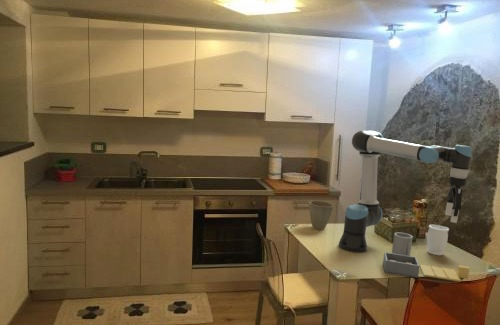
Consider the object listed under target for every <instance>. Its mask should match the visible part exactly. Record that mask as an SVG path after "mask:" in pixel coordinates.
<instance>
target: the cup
mask: <svg viewBox="0 0 500 325" xmlns="http://www.w3.org/2000/svg"><path fill="white" fill-rule="evenodd" d="M413 238H414V236H413V235H412V234H409V233H405V232H394V235H393V242H392V248H391V253H392V254H399V255H405V256H411V251H412V245H413V244H412V243H413Z"/></svg>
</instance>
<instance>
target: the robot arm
mask: <svg viewBox="0 0 500 325" xmlns="http://www.w3.org/2000/svg"><path fill="white" fill-rule="evenodd" d="M351 145H352V147H353V149H355V150H356V151H358V153H359V155H360V157H361V184H360V186H361V188H360V189H361V191H360V199H359V200H358V201H357V202H358V203H356V204H350V205H348V206H347V207H346V209H345V214H344V215H345V217H344V225H343V233H342V236H341V237H340V239H339V242H338V247H339V248H341V249H342V250H345V251H347V252H353V253H364V252H367V250H368V244H367V239H366V238H367V237H366V231H367V228H368V227H371V226H376V225H377V224H378V223H379V222H380V221H381V220H382V218H383V210H382V208H381V207H380V202H379V201H378V198H377V197H378V165H379V164H378V163H379V162H378V160H379V157H380V156H381V154H386V155H389V156H390V155H391V156H395V157H400V158H405V159H412V160H415V161H420V162H423V163H426V164H433V163H438V162H439V163H440V162H441V163H447V164H451V167H450V176H449V178H448V183H449V184H450V187H449V190H448V194H447V197H446V207H445V214H444V215H445V216H450V220H449V222H450V223H455V224H457V223H458V218H459V213H460V211H461V210H462V197H463V196H462V195H463V189H461V187H465V186H467V185H466V184H467V178H468V174H470V171H469V169H470V165H471V158H472V153H473V152H472V151H473V148H472V146H469V145H463V144H462V145H461V144H456V145H455V146H454V147H446V146H443V145H441V146H440V145H436V144H435V145H430V146H429V145H428V146H427V145H424V144H423V145H422V144H416V143H410V142H405V141H399V140H394V139H388V138H384V135H383V134H382V133H380V132H379V131H377V130H376V131H375V130H359V131H357V132H355V133H354V134H353V135H352V137H351Z"/></svg>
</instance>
